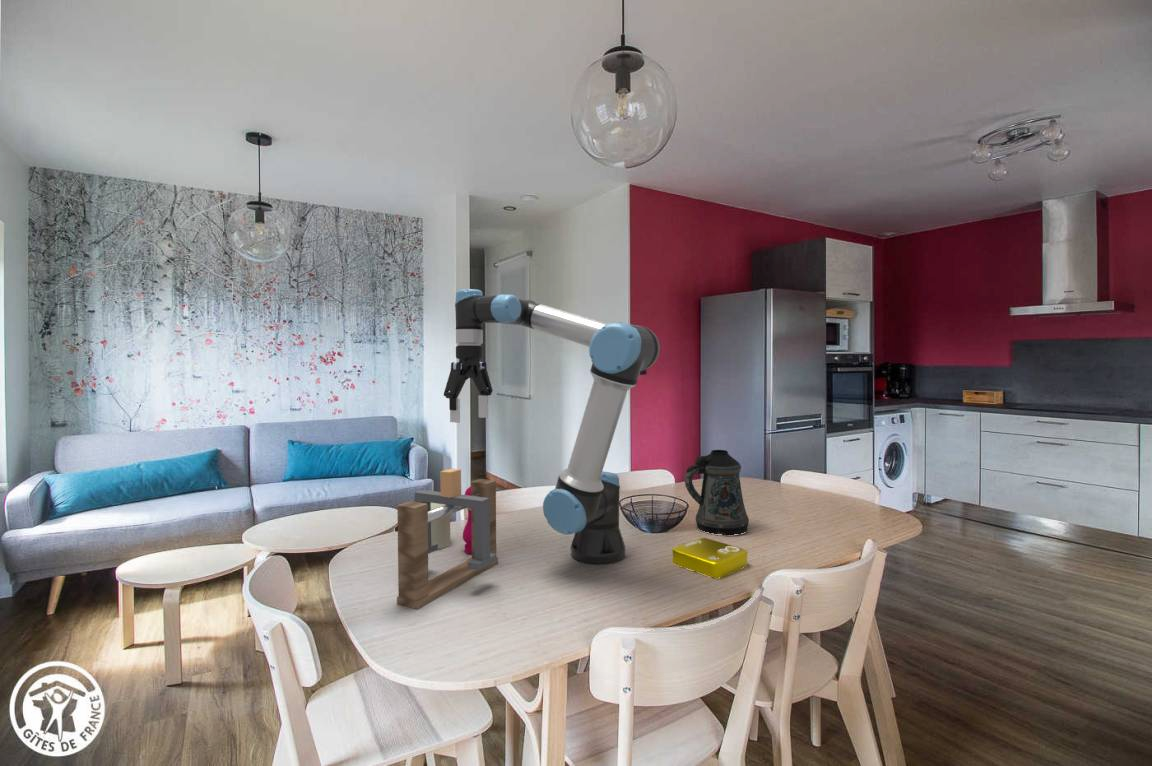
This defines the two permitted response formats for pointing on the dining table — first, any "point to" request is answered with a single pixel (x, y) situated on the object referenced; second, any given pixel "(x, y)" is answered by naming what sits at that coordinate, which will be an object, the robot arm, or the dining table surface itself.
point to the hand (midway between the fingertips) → (469, 420)
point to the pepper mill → (468, 529)
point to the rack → (415, 549)
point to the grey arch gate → (481, 505)
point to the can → (440, 529)
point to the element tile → (710, 557)
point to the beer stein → (718, 494)
